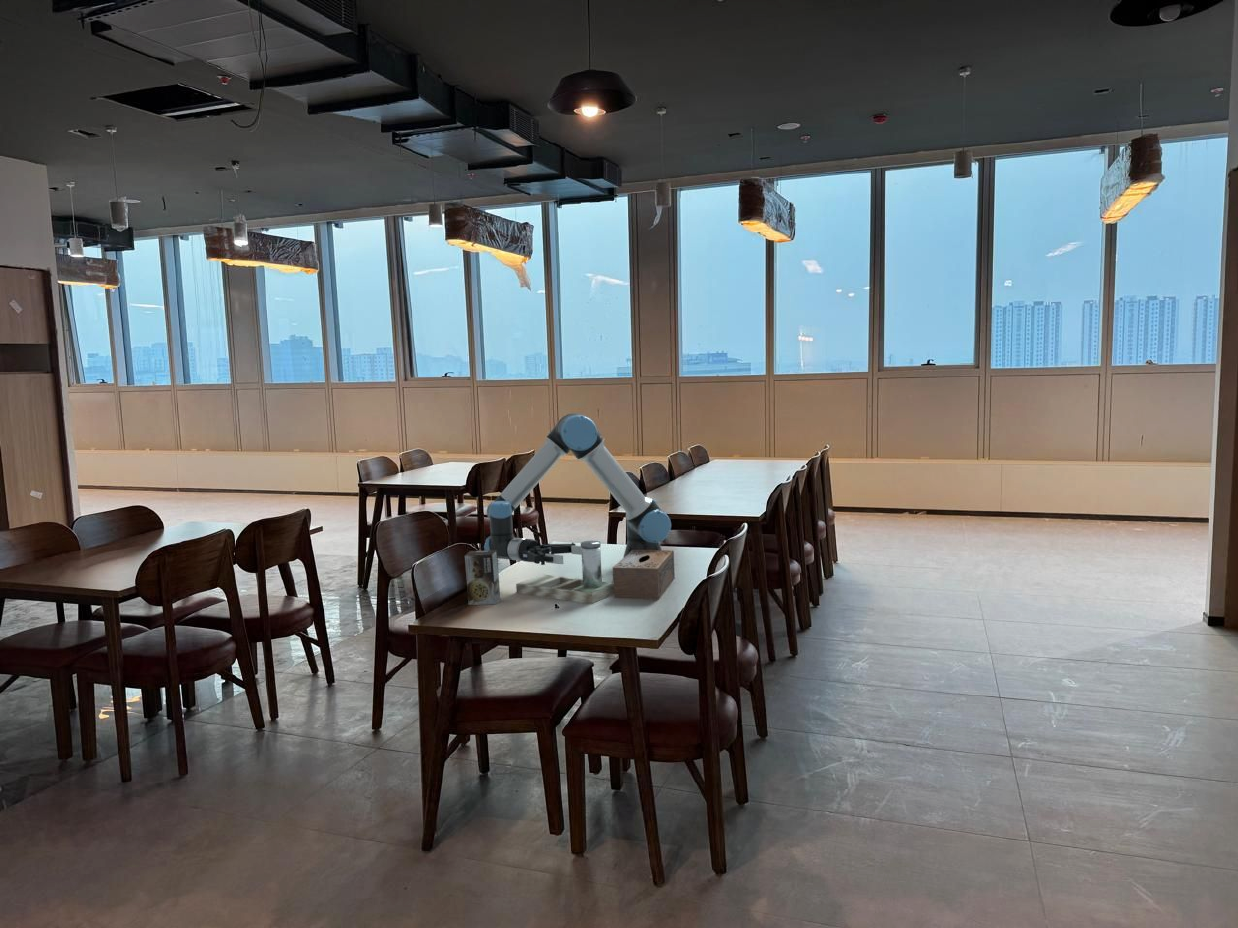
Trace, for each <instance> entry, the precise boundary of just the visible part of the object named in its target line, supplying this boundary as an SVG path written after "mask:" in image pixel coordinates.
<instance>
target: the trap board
mask: <svg viewBox="0 0 1238 928" xmlns="http://www.w3.org/2000/svg"><path fill="white" fill-rule="evenodd" d="M515 588H516V589H515V590H516V594H522V595H527V596H536V597H542V598H548V597H549V598H548V599H554V598H555V599H557V600H561V599H562V600H561V601H569V602H574V603H575V602H576V603H583V604H590V605H591V604H594V603H597V602H598V601H600V600H603V599H605V598H607V596H608V597H610V596H612V595H614V587H613V582H606V581H605V582H604V581H602V587H600V588H595V589H587V588H584V587H583V578H576V577H575V578H574V577H568V576H558V575H552V574H551V575H550V574H540V575H538V576H534V577H532V578H529V579H526V580H523V581H521V582H518V583H515Z"/></svg>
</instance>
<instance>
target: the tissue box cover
mask: <svg viewBox="0 0 1238 928" xmlns="http://www.w3.org/2000/svg"><path fill="white" fill-rule="evenodd" d="M674 551H675V550H673V549H671V550H670V549H669V550H667V549H666V550H665V549H662V550H632V551H630V552H629V553H628V554H627V555H626V556H625V557H624V558H623V557H622V559H620V561H618V562H617V563H616V564H615V565H614V566H612V583H613V587H614V594H613V598H614V599H625V600H626V599H630V600H631V599H632V600H635V599H636V600H660V599H661V598H662V596H663V595H664V594H665V592H666V591H667V590H668V589H669V587H670V586H671V584H672V583H673V581H674V580H675V579H676V577H675V575H676V574H675V552H674Z"/></svg>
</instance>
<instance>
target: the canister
mask: <svg viewBox="0 0 1238 928" xmlns="http://www.w3.org/2000/svg"><path fill="white" fill-rule="evenodd" d="M580 546H581V553H582V555H581V567H582V568H581V571H582V572H581V573H582V579H583V587H584V588H587V589H595V588H600V587H602V582H603V579H602V557H601V541H599V540H586V541H585V540H584V541H582V542H580Z"/></svg>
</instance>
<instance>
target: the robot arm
mask: <svg viewBox="0 0 1238 928" xmlns="http://www.w3.org/2000/svg"><path fill="white" fill-rule="evenodd" d="M570 452H571V453H572V454H573V455H574V457H576V459H577V460H578V461H584V462H585V463H586V465H587V466H588V467H589V468H590V470H592V472H593V473H594V474H595V476H596V477H597V478H598V479H599V481H600V482H601V484H603V485H604V486H605V488H606V489H607V491H608V492H609V493H610V495H612V497H613V498H614V499H615V500H616V501H617V503H618V504H619V505H620V506H621V508H622V509H623V510H624V511H625V520H626V521H625V523H626V538H627V542H626V546H625V549H624V552H623V553H624V554H623V557H622V559H623V558H624V557H625V556H626V555H627V554H628V553H629V552H630V551H632V550H663V549H662V546H661V543H660V542H663V541H664V540H665V539H666V538H667V537H668V536H669V534H670V533H671V530H672V522H671V518H670V517H669V515H668V514H667V513H666V512H665V511H663V510H662V509H661V508H660V506H659V505H658V501H657V500H656V499H653V498H652V497H650V496H649V497H647V496H645V494H643V492H642V491H641V490H640V489H639V487H638V486H637V485H636V484H635V482H634V481H633V479H632V478H631V477H630V476H629V475H628V473H627V472H626V471H625V470H624V469H623V467H622V466H621V465H620V463H619V462H618V461H617V460H616V459H615V457H614V456H613V455H612V453H611V452H610V451H609V450H608V449H607V447H606V446H605V438H604V436H602V434H601V433H600V431H599V430H598V429H597V426H596V423H594V421H593V420H592V418H590V417H589V416H586V415H584V414H579V413H578V414H577V413H568V414H566V415H563V417H561V418H560V419H559V420H558V421H557V423H556V424H555V426H554V427H553V428H552V429H551V431H550V432H549V434H548V435H546V437H545V442H544V443H543V445H542V446H541V447H540V448H539V449H538V450H537V451H536V453H535V454H534V455H533V456H532V457H531V458H530V460H529V461H528V462H527V463H526V464H525V465H524V466H523V468H522V469H521V470H519V472H518V473H517V475H516V476H515V477H514V478H513V479H512V480H511V481H510V483H508V485H507V486H506V487H505V488H504V489H503V490H502V491H501V493H500V494H499V495H498V496H497V498H495V500H493V501H492V502H490V503H489V504H488V505H487V508H486V516H487V518H488V519H489V524H490V525H489V528H490V535H489V536H488V537H486V539H485V543H484V545H483V548H484V550H497V559H499V560H500V559H501V560H502V559H503V560H512V561H516V562H517V563H520V562H526V563H534V564H536V565H538V564H539V565H541V566H545V565H546V564H555V565H564V555H563V554H572V555H579V556H582V553H581V545H576V543H574V542H571V543H547V544H539V542H538V540H536V539H534V538H533V539H531V538H524V537H523V538H522V537H521V538H520V537H514V532H513V531H514V530H513V513H514V511H515V510H516V509H517V508H518V507H519V505H520V504H521V503H522V502H523V501H524V500H525V498H526V497H528V495H529V494H530V493H531V491H533V489H534V488H535V487H536V486H537V485H538V483H540V481H541V480H542V479H543V478H544V477H545V476H546V475H547V473H548V472H549V471H550V470H551V469H552V468H553V466H554V465H555V464H556V463H557V462H558V461H559V460H560V459H561V457H562V456H567V455H568V454H569V453H570ZM561 554H562V555H561Z"/></svg>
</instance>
